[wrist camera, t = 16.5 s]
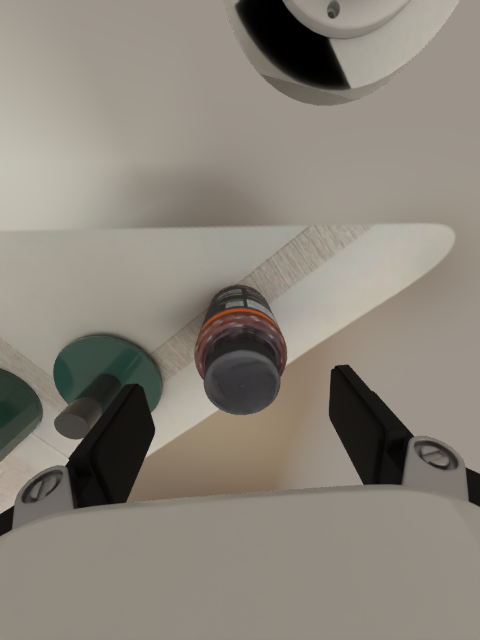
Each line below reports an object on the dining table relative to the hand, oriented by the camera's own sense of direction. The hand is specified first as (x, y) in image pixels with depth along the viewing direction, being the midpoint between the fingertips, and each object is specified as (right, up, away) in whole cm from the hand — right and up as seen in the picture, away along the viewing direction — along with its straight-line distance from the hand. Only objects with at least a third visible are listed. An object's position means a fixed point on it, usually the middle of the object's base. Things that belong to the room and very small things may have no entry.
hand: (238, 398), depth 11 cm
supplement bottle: (0, +5, +11) cm, 12 cm away
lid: (-14, -3, +13) cm, 19 cm away
